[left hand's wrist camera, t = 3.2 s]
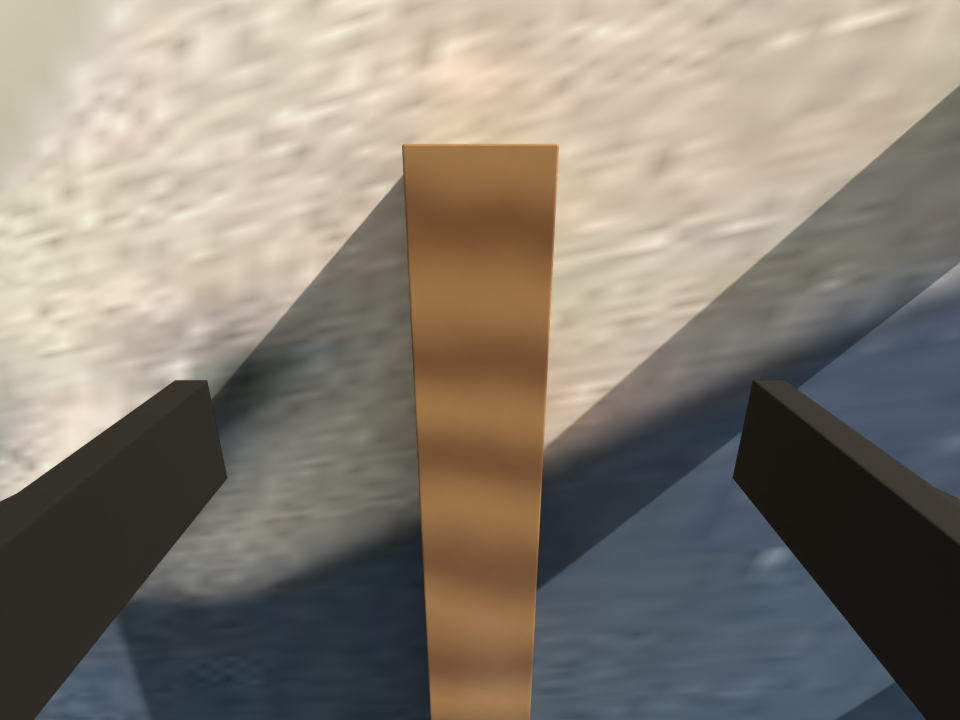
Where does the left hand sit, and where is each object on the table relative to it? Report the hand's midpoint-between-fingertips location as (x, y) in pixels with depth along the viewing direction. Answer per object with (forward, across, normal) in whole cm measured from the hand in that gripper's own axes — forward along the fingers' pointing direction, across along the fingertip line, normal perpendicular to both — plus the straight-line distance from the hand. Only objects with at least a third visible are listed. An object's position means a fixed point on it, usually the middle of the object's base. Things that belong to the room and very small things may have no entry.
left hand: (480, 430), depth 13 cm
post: (+16, 0, -23) cm, 28 cm away
